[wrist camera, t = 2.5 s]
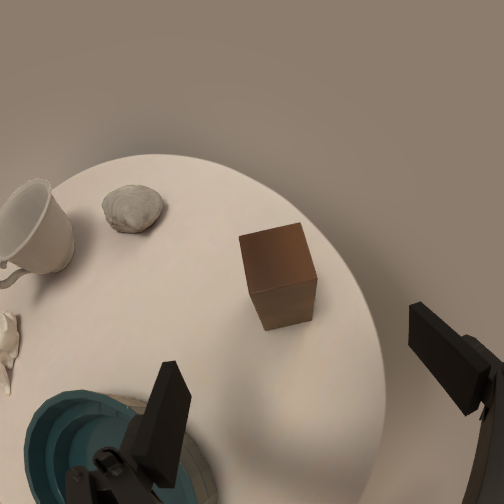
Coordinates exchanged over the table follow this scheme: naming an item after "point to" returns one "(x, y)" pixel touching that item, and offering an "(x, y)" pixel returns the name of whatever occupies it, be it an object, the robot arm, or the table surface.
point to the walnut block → (279, 275)
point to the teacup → (34, 232)
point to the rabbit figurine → (8, 346)
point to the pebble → (132, 208)
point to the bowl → (99, 446)
